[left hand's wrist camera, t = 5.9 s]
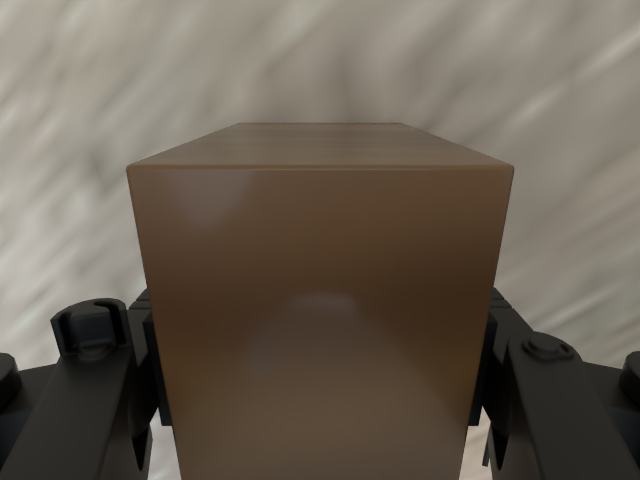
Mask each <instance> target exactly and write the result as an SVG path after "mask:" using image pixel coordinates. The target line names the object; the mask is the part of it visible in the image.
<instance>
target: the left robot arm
mask: <svg viewBox="0 0 640 480" xmlns="http://www.w3.org/2000/svg"><path fill="white" fill-rule="evenodd" d="M50 321H51V325H52V328H53V332H54V335H55V338H56V342H57V345H58V349H59V352H60V358H59V360H58V362H57V363H56V364H52V365H47V366H42V367H37V368H32V369H27V370H21V371H18V368H17V365H16V362H15V359H14V357H12V356H11V355H9V354H7V353H0V480H147V479H148V471H149V464H150V456H151V448H152V441H153V439H152V432H151V427H150V422H151V420H152V418H153V416H154V414H155V412H156V410H157V408H159V413H160V419H161V424H162V426H172V423H171V418H170V412H169V407H168V401H167V395H166V390H165V384H164V379H163V373H162V367H161V362H160V356H159V351H158V345H157V340H156V334H155V328H154V323H153V317H152V312H151V306H150V300H149V295H148V289H145V290H144V291H143V292H142V294H141V295H140V296H139V297H138V298H137V299H136V301H134V303H133V304H132V305H131V306H130V307H129V310H126V305H125V303H123V302H122V301H120V300H118V299H112V298H98V299H92V300H87V301H83V302H80V303H77V304H74V305H71V306H69V307H67V308H65V309H63V310H62V311H60V312H58V313H57V314H56V315H55V316H54V317H53V318H52V319H51V320H50ZM482 406H483V407H484V409H485V411H486V413H487V415H488V417H489V419H490V421H491V422H490V427H489V432H488V437H487V442H486V447H485V452H484V456H483V463H482V466H487V467H488V462H489V458H490V463H491V471H492V478H493V480H640V351H636V352H632V353H631V354H629V355H628V356H627V357H626V360H625V363H624V366H623V369H618V368H613V367H607V366H602V365H597V364H592V363H587V362H583V361H582V359H581V357H580V355H579V354H578V353H577V352H576V351H575V349H574V348H573V347H572V346H570V345H569V344H567V343H566V342H564V341H563V340H560V339H558V338H556V337H553V336H551V335H548V334H544V333H540V332H536V331H533V330H532V329H531V327H530V326H529V325H528V324H527V323H526V322H525V321H524V320H523V318H522V317H521V316H520V315H519V314H518V313H517V312H516V311H515V310H514V308H512V306H511V305H510V304H509V303H508V302H507V301H506V300H504V297H503V296H502V295H501V294H500V293H499V292H498V291H497V289H496V288H494V287H493V291H492V297H491V302H490V308H489V314H488V319H487V325H486V330H485V336H484V341H483V347H482V353H481V358H480V364H479V369H478V375H477V380H476V386H475V392H474V397H473V403H472V408H471V414H470V419H469V425H468V426H478V425H479V420H480V415H481V409H482Z"/></svg>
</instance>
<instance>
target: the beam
mask: <svg viewBox="0 0 640 480" xmlns="http://www.w3.org/2000/svg"><path fill="white" fill-rule="evenodd" d="M126 172H127V177H128V183H129V189H130V194H131V200H132V205H133V211H134V217H135V222H136V228H137V233H138V239H139V245H140V250H141V256H142V261H143V267H144V272H145V278H146V284H147V289H148V295H149V300H150V306H151V312H152V317H153V323H154V328H155V334H156V340H157V345H158V351H159V356H160V362H161V367H162V373H163V379H164V384H165V390H166V395H167V401H168V407H169V412H170V418H171V423H172V429H173V434H174V440H175V446H176V451H177V457H178V462H179V468H180V474H181V479H182V480H459V475H460V470H461V464H462V458H463V453H464V447H465V442H466V436H467V431H468V425H469V419H470V414H471V408H472V403H473V397H474V392H475V386H476V380H477V375H478V369H479V364H480V358H481V353H482V347H483V341H484V336H485V330H486V325H487V319H488V314H489V308H490V302H491V297H492V291H493V286H494V280H495V275H496V269H497V263H498V258H499V252H500V247H501V241H502V236H503V230H504V224H505V219H506V213H507V208H508V202H509V197H510V191H511V185H512V180H513V174H514V167H513V166H512V165H510V164H508V163H505V162H502V161H500V160H497V159H494V158H492V157H489V156H486V155H484V154H481V153H479V152H476V151H473V150H471V149H468V148H465V147H463V146H460V145H458V144H455V143H452V142H450V141H447V140H444V139H442V138H439V137H436V136H434V135H431V134H429V133H426V132H423V131H421V130H418V129H415V128H413V127H410V126H408V125H405V124H402V123H238V124H235V125H233V126H230V127H227V128H225V129H222V130H220V131H217V132H214V133H212V134H209V135H206V136H204V137H201V138H199V139H196V140H193V141H191V142H188V143H185V144H183V145H180V146H178V147H175V148H172V149H170V150H167V151H164V152H162V153H159V154H157V155H154V156H151V157H149V158H146V159H143V160H141V161H138V162H135V163H133V164H130V165H128V166H127V168H126Z"/></svg>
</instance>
